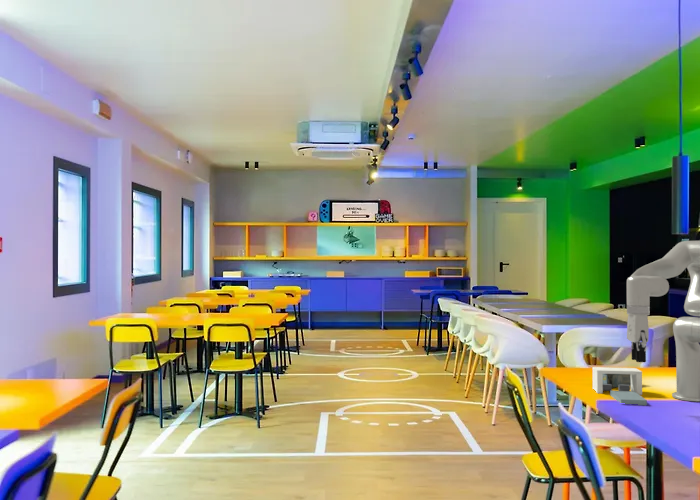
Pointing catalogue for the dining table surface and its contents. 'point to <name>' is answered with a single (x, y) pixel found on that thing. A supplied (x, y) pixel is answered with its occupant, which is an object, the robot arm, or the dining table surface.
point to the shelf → (635, 384)
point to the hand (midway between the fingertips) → (638, 360)
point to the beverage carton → (617, 379)
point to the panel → (628, 397)
